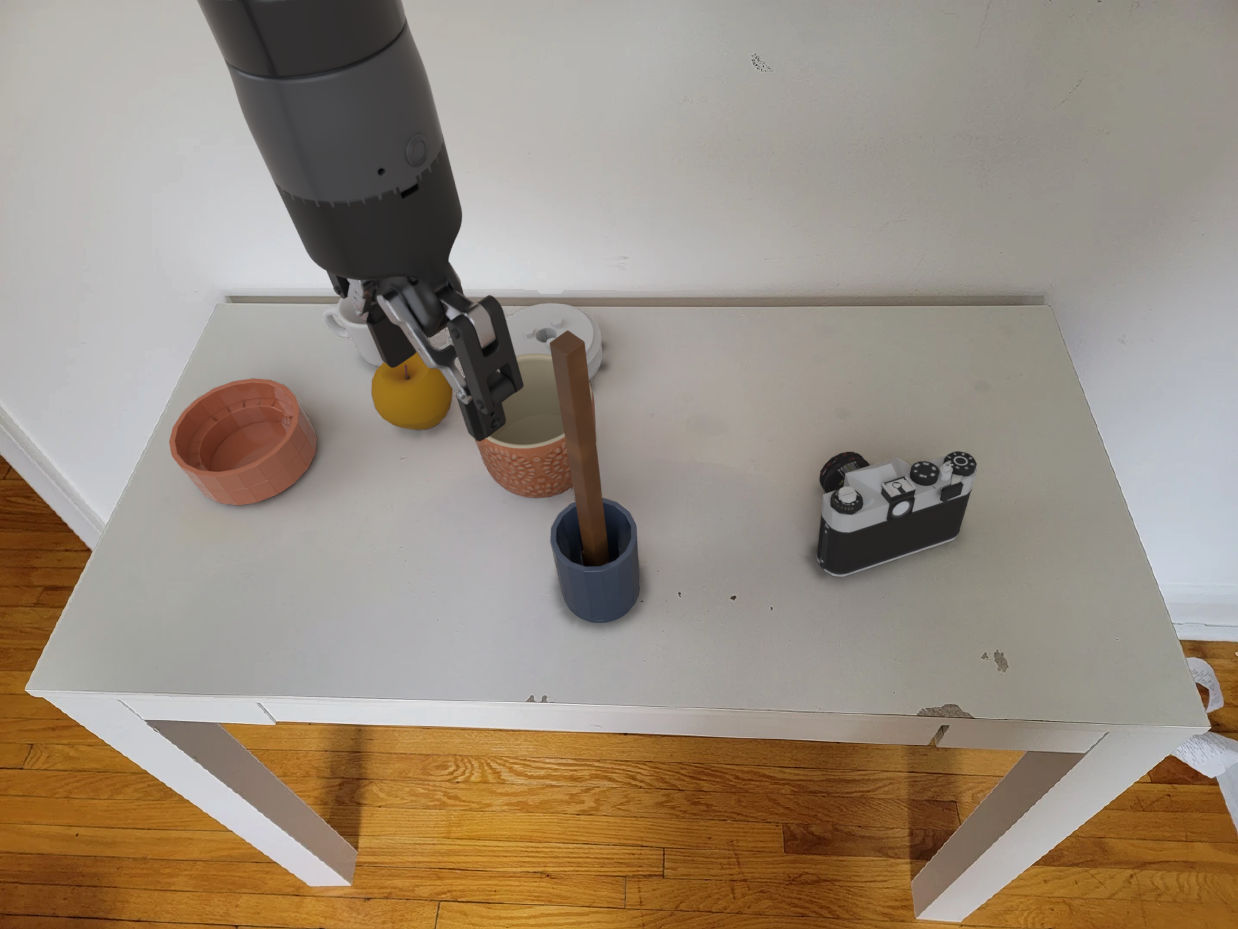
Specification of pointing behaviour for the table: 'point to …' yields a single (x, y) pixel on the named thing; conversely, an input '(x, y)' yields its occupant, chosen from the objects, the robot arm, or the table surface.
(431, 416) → the apple
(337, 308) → the cup
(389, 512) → the table surface
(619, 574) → the crock
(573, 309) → the white thick round disc
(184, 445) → the bowl
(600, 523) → the stick
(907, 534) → the camera
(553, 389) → the planter
